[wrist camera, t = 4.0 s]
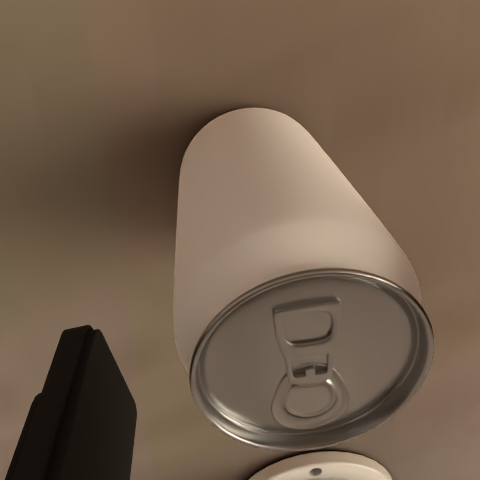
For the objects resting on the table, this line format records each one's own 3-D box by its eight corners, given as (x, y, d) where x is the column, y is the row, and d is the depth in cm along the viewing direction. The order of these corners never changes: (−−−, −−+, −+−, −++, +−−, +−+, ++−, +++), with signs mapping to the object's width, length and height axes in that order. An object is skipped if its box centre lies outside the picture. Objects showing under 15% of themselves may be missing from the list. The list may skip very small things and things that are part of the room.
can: (191, 246, 22) (194, 480, 12) (166, 115, 19) (139, 278, 8) (321, 227, 22) (436, 441, 12) (318, 94, 19) (475, 229, 9)
